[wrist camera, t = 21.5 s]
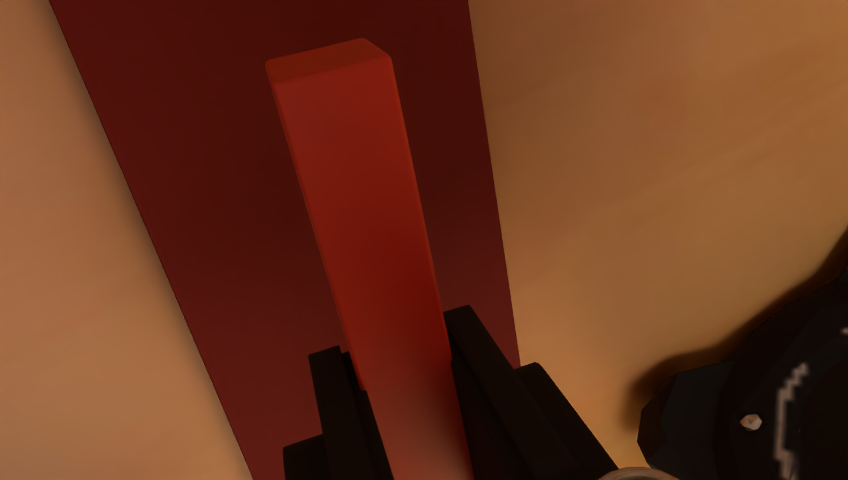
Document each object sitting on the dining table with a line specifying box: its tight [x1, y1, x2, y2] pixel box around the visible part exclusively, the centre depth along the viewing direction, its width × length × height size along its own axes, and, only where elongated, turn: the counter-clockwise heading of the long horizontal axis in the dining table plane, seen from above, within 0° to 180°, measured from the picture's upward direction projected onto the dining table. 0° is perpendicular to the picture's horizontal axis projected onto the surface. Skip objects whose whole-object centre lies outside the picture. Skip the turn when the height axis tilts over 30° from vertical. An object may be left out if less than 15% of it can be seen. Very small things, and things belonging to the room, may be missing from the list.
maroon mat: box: [49, 0, 521, 480], centre depth 20 cm, size 18×10×1 cm, turn 11°
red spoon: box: [265, 38, 475, 480], centre depth 11 cm, size 14×4×2 cm, turn 11°
